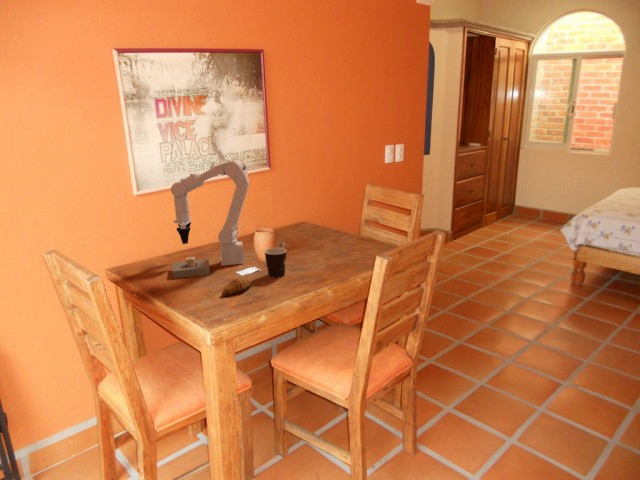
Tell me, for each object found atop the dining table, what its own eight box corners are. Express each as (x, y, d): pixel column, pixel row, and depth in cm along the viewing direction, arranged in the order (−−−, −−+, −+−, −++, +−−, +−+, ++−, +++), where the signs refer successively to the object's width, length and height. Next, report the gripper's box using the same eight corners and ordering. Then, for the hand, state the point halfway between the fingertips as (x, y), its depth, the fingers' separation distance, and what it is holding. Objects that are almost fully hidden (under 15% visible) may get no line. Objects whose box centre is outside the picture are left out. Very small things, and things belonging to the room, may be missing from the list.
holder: (209, 266, 203) (208, 259, 202) (209, 274, 193) (209, 267, 192) (174, 269, 200) (173, 262, 199) (173, 278, 190) (172, 271, 189)
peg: (195, 270, 199) (194, 256, 197) (195, 273, 196) (194, 259, 194) (187, 271, 198) (186, 257, 196) (187, 273, 195) (186, 259, 193)
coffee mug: (278, 280, 186) (277, 255, 183) (261, 276, 190) (259, 252, 188) (296, 271, 195) (295, 247, 193) (279, 267, 200) (277, 244, 197)
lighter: (272, 264, 204) (271, 246, 202) (270, 263, 206) (269, 245, 203) (286, 260, 209) (285, 242, 207) (283, 259, 210) (282, 241, 208)
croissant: (229, 299, 169) (228, 286, 168) (217, 295, 173) (216, 282, 172) (257, 288, 179) (257, 275, 178) (245, 284, 183) (244, 271, 182)
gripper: (173, 207, 209) (176, 237, 213) (171, 214, 195) (175, 246, 199) (190, 206, 210) (193, 236, 214) (189, 213, 197) (192, 245, 201)
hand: (185, 241), depth 207 cm, fingers open, 7 cm apart
